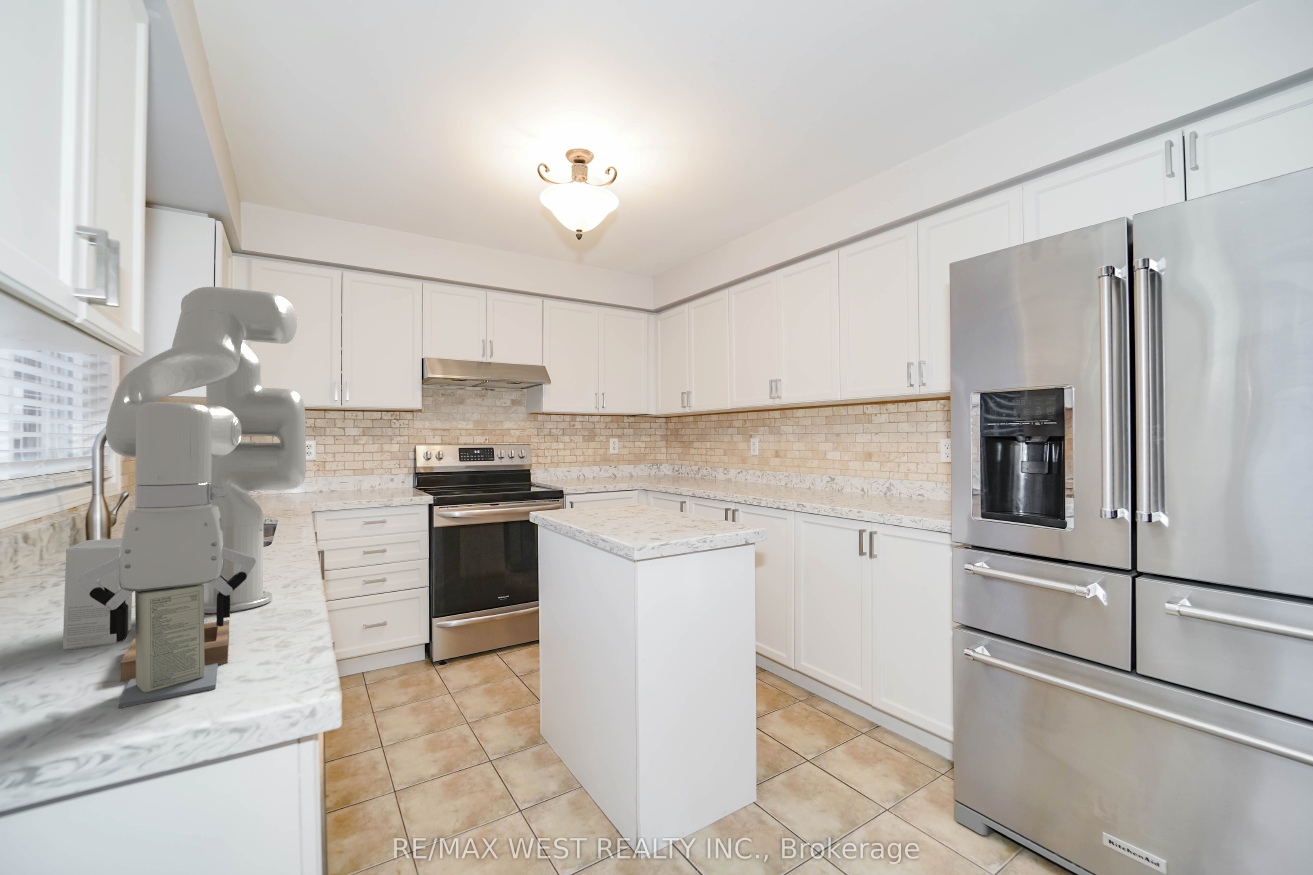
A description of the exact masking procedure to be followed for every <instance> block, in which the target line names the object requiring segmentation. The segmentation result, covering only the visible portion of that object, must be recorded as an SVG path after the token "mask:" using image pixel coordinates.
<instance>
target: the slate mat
mask: <svg viewBox="0 0 1313 875" xmlns="http://www.w3.org/2000/svg"><path fill="white" fill-rule="evenodd" d="M218 665H219V664H218V663H216V664H211V665H205V666H204V670H205V672H204V677H200V678H197V679H193V680H191V681H187V682H183V683H179V684H175V685H172V686H168V687H165V688H161V689H157V690H153V691H150V692H146V693H144V692H143V691H142V690H141V689H140V688H139V687H138V686H137V685H136V678H133V679H130V680H129V681H128V683H127V685H126V687H125V689H124V691H123V693H122V696H121V698H120V699H119V702H118V704H117V706H118V709H122V708H126V707H130V706H135V705H141V704H146V703H151V702H156V701H161V700H165V699H166V700H167V699H171V698H177V697H181V696H186V695H190V694H195V693H201V692H206V691H210V690H215V689H216V686H217V676H218V669H219V668H218V667H219V666H218Z"/></svg>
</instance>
